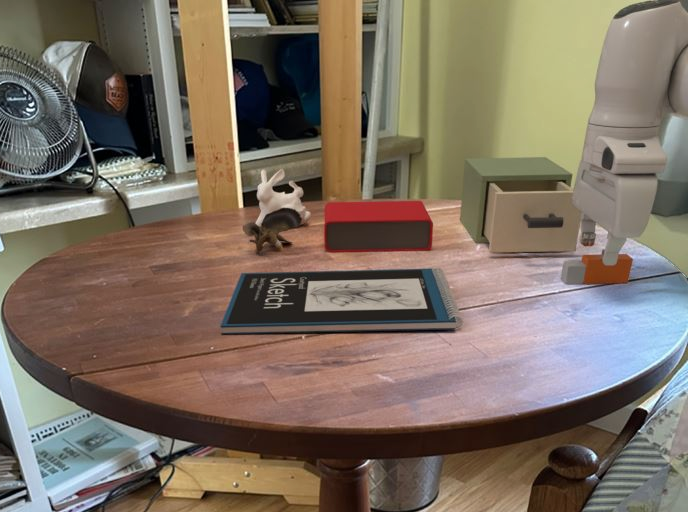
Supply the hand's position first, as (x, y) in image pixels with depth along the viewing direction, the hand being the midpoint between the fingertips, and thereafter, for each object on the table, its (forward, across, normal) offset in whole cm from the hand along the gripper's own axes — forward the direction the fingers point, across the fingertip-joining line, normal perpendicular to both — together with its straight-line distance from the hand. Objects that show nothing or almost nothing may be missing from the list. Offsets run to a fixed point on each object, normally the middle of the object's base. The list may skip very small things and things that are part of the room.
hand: (596, 254), depth 100 cm
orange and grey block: (+4, 0, 0) cm, 4 cm away
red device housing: (+4, -25, -30) cm, 39 cm away
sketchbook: (+4, +8, -37) cm, 38 cm away
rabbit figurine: (+5, -37, -48) cm, 60 cm away
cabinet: (+4, -30, -6) cm, 31 cm away
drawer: (+3, -17, -6) cm, 19 cm away
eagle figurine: (+5, -20, -48) cm, 52 cm away
